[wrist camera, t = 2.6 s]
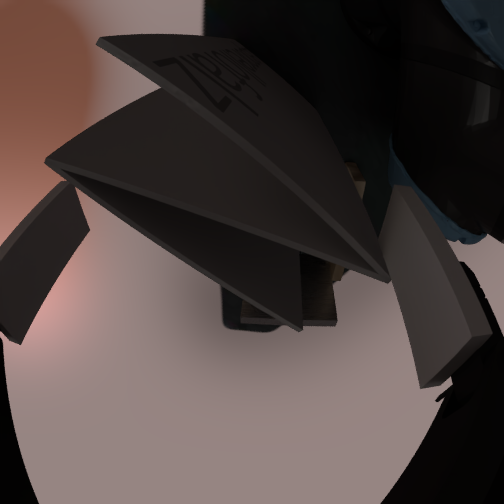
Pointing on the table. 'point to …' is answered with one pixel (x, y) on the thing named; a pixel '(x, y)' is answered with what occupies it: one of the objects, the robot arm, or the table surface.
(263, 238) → the brochure
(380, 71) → the table surface
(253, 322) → the bookend
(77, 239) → the robot arm
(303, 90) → the table surface
